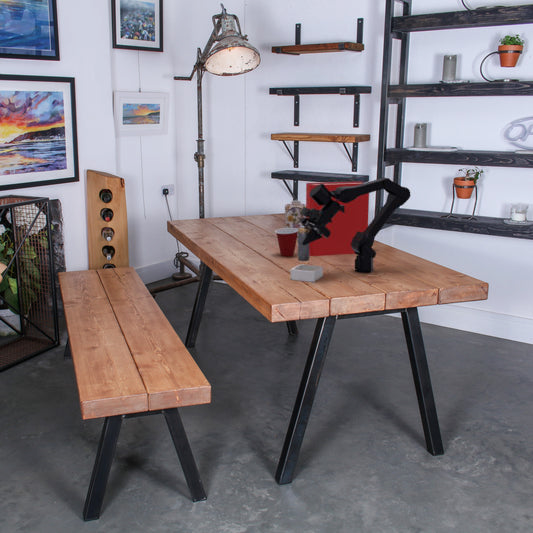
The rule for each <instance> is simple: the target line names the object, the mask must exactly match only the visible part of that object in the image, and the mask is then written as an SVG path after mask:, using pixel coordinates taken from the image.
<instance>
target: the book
mask: <svg viewBox="0 0 533 533" xmlns="http://www.w3.org/2000/svg"><path fill="white" fill-rule="evenodd" d="M320 183H322V184H324V185H325V187H326V188H327V189H328V190H329V191H334V190H335V189H336V188H338V187H344V186H357V185H360V184H363V183H364V181H363V180H361V181H360V180H359V181H331V182H330V181H327V182H326V181H325V182H324V181H323V182H306V184H305V186H306V187H305V192H306V193H305V205H306V208H308V209H311V208H314V209H317V210H321V208H322V207H323V206H324V205H320V206H319V205H318V204H317V203H316V202H315V201H314V200H313V199H312V198H311V197H310V196H309V193H310V191H311V190H312V189H313V188H315V187H316V186H318V185H320ZM332 199H333V200H334V201H337V200H336V199H335V198H332ZM337 202H338V203H339V204H340V205H344V206H345V207H344V209H345V212H344V213H343V212H340V211H338V212H337V214H336V215H335V216H334V217H333V218H332V219H331V220H332V222H331V223H328V224H327V225H326V226H325V227H326V228H327V229H328V230H329V231H330V232H331V235H330V236H329V237H328V238H325V237H324V235H322V237H323V238H320V239H318V240H315V241H313V242H311V243H309V257H318V256H319V257H323V256H339V255H341V256H342V255H356V254H355V252H354V250H353V249H352V247H351V242H352V240H353V239H352V238H353V237H354V236H355V235H356V233H357V232H358V231H359V232H363V231H365V230H366V228H367V227H368V226H369V208H370V207H369V205H370V204H369V203H370V193H368V194H364V195H361V196H359V197H357V198H356V199H355V200H353V201H351V202H349V203H342V202H339V201H337ZM306 218H309V217H306Z"/></svg>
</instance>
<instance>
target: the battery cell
mask: <svg viewBox="0 0 533 533" xmlns="http://www.w3.org/2000/svg"><path fill="white" fill-rule="evenodd" d="M308 234H309V227H306V226H301V227H299V228H298V237H297V241H298V242H297V261H299V262H308V261H310V256H309V244H306V245H302V243H303V241H304V239H305V238H306V237H307V235H308Z"/></svg>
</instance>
